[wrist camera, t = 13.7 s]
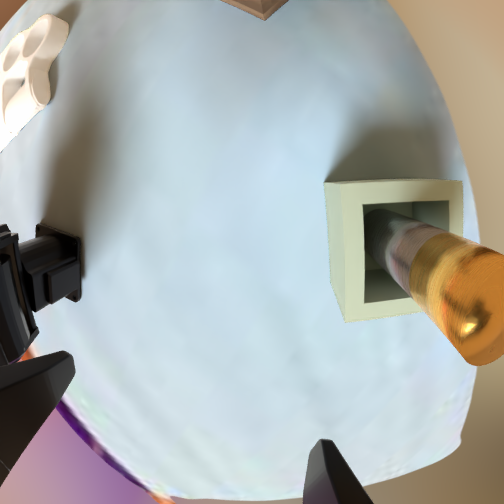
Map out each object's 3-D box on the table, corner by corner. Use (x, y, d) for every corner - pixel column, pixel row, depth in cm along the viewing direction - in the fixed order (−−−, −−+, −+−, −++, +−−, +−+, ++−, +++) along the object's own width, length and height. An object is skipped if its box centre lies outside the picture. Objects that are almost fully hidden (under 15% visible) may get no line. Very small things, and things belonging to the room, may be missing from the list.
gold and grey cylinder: (349, 222, 17) (452, 304, 5) (389, 200, 16) (529, 240, 4) (369, 264, 18) (464, 383, 6) (407, 241, 17) (533, 326, 5)
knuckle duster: (-9, 172, 22) (-12, 85, 19) (76, 89, 18) (71, 1, 15) (-28, 174, 19) (-27, 83, 16) (52, 82, 15) (54, -9, 12)
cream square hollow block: (330, 282, 19) (345, 322, 14) (323, 182, 18) (339, 184, 12) (417, 272, 18) (455, 305, 13) (416, 178, 17) (462, 181, 11)
